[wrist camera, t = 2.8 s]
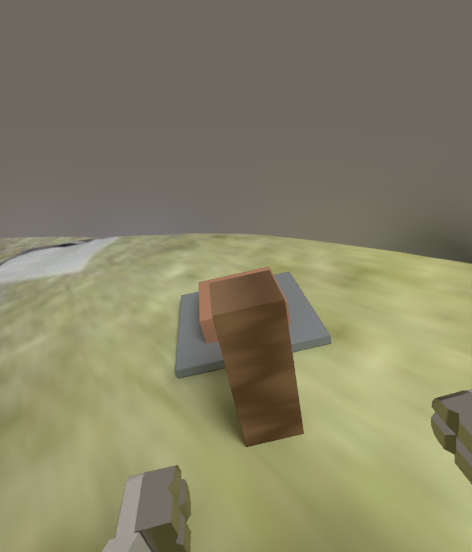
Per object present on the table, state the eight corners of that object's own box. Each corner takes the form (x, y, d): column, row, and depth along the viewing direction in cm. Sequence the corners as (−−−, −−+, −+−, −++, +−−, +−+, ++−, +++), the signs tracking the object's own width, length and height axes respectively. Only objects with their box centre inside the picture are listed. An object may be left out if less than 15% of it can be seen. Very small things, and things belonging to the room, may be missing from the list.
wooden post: (246, 446, 25) (211, 315, 19) (239, 401, 29) (208, 283, 24) (303, 433, 25) (284, 299, 20) (288, 390, 29) (269, 269, 24)
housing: (177, 378, 33) (166, 347, 31) (183, 301, 47) (175, 277, 46) (331, 343, 33) (328, 310, 31) (289, 277, 48) (286, 252, 46)
